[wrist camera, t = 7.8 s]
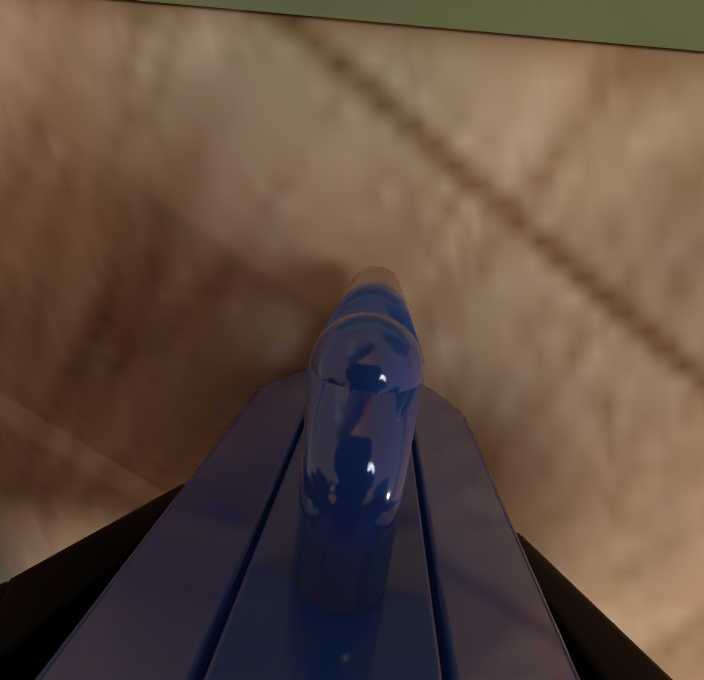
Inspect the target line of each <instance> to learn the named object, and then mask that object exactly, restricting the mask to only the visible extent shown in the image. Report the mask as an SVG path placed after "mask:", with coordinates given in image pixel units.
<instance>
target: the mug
mask: <svg viewBox="0 0 704 680" xmlns="http://www.w3.org/2000/svg"><path fill="white" fill-rule="evenodd" d="M423 376H424V361H423V355H422V352H421V349H420V345H419V342H418V339H417V336H416V333H415V330H414V327H413V323H412V320H411V317H410V314H409V311H408V308H407V305H406V301H405V298H404V295H403V292H402V289H401V286H400V283H399V280H398V278H397V277H396V275H395V274H394V273H393V272H392V271H390V270H389V269H387V268H385V267H382V266H369V267H366V268H364V269H362V270H361V271H359V272H358V273H357V274H356V275H355V276H354V278H353V279H352V281H351V283H350V285H349V286H348V288H347V290H346V291H345V293H344V295H343V296H342V298H341V300H340V301H339V303H338V305H337V306H336V308H335V310H334V311H333V313H332V315H331V316H330V318H329V320H328V322H327V323H326V325H325V327H324V328H323V330H322V332H321V333H320V335H319V337H318V338H317V340H316V342H315V344H314V346H313V349H312V352H311V357H310V362H309V368H307V369H304V370H302V371H299V372H297V373H294V374H292V375H289V376H287V377H284V378H282V379H279V380H277V381H274V382H272V383H269V384H266V385H264V386H263V387H262V389H259V390H258V391H257V392H256V394H255V395H254V396H253V397H252V399H251V400H250V401H249V403H248V404H247V405H246V406H245V408H244V409H243V410H242V412H241V413H240V414H239V416H238V417H237V418H236V419H235V421H234V422H233V423H232V425H231V426H230V427H229V428H228V430H227V431H226V432H225V434H224V435H223V436H222V438H221V439H220V440H219V441H218V443H217V444H216V445H215V447H214V448H213V449H212V450H211V452H210V453H209V454H208V456H207V457H206V458H205V460H204V461H203V462H202V463H201V465H200V466H199V467H198V469H197V470H196V471H195V473H194V474H193V475H192V476H191V478H190V479H189V480H188V482H187V483H186V484H185V485H184V487H183V488H182V489H181V491H180V492H179V493H178V495H177V496H176V497H175V498H174V500H173V501H172V502H171V504H170V505H169V506H168V507H167V509H166V510H165V511H164V513H163V514H162V515H161V517H160V518H159V519H158V520H157V522H156V523H155V524H154V526H153V527H152V528H151V529H150V531H149V532H148V533H147V535H146V536H145V537H144V539H143V540H142V541H141V542H140V544H139V545H138V546H137V548H136V549H135V550H134V551H133V553H132V554H131V555H130V557H129V558H128V559H127V561H126V562H125V563H124V564H123V566H122V567H121V568H120V570H119V571H118V572H117V573H116V575H115V576H114V577H113V579H112V580H111V581H110V583H109V584H108V585H107V586H106V588H105V589H104V590H103V592H102V593H101V594H100V595H99V597H98V598H97V599H96V601H95V602H94V603H93V605H92V606H91V607H90V608H89V610H88V611H87V612H86V614H85V615H84V616H83V618H82V619H81V620H80V621H79V623H78V624H77V625H76V627H75V628H74V629H73V630H72V632H71V633H70V634H69V636H68V637H67V638H66V640H65V641H64V642H63V643H62V645H61V646H60V647H59V649H58V650H57V651H56V652H55V654H54V655H53V656H52V658H51V659H50V660H49V662H48V663H47V664H46V665H45V667H44V668H43V669H42V671H41V672H40V673H39V674H38V676H37V677H36V678H35V680H580V678H579V675H578V673H577V671H576V669H575V666H574V664H573V662H572V660H571V657H570V655H569V653H568V650H567V648H566V646H565V644H564V641H563V639H562V637H561V635H560V632H559V630H558V628H557V625H556V623H555V621H554V619H553V616H552V614H551V612H550V609H549V607H548V605H547V603H546V600H545V598H544V596H543V594H542V591H541V589H540V587H539V584H538V582H537V580H536V578H535V575H534V573H533V571H532V568H531V566H530V564H529V562H528V559H527V557H526V555H525V553H524V550H523V548H522V546H521V543H520V541H519V539H518V537H517V534H516V532H515V530H514V528H513V525H512V523H511V521H510V518H509V516H508V514H507V512H506V509H505V507H504V505H503V502H502V500H501V498H500V496H499V493H498V491H497V489H496V487H495V484H494V482H493V480H492V477H491V475H490V473H489V471H488V468H487V466H486V464H485V461H484V459H483V457H482V455H481V452H480V450H479V448H478V446H477V443H476V441H475V439H474V436H473V434H472V432H471V430H470V427H469V425H468V423H467V420H466V418H465V417H464V416H462V413H461V412H460V411H459V410H458V409H456V408H455V407H453V406H452V405H451V404H449V403H448V402H447V401H445V400H444V399H442V398H441V397H440V396H438V395H437V394H436V393H434V392H433V391H432V390H430V389H429V388H427V387H426V386H425V385H423Z"/></svg>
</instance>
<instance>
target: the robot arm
mask: <svg viewBox="0 0 704 680" xmlns="http://www.w3.org/2000/svg"><path fill="white" fill-rule="evenodd" d="M184 485H185V484H182V485H179V486H177V487H176V488H174V489H172V490H170V491H168V492H167V493H165V494H163V495H161V496H159V497H158V498H156V499H154V500H152V501H150V502H149V503H147V504H145V505H143V506H141V507H140V508H138V509H136V510H134V511H132V512H131V513H129V514H127V515H125V516H123V517H121V518H120V519H118V520H116V521H114V522H112V523H111V524H109V525H107V526H105V527H103V528H102V529H100V530H98V531H96V532H94V533H93V534H91V535H89V536H87V537H85V538H84V539H82V540H80V541H78V542H76V543H75V544H73V545H71V546H69V547H67V548H65V549H64V550H62V551H60V552H58V553H56V554H55V555H53V556H51V557H49V558H47V559H46V560H44V561H42V562H40V563H38V564H37V565H35V566H33V567H31V568H29V569H28V570H26V571H24V572H22V573H20V574H18V575H17V576H15V577H13V578H11V579H10V580H9V582H8V583H7V582H4V583H2V584H0V680H35V678H36V677H37V676H38V674H39V673H40V672H41V671H42V669H43V668H44V667H45V665H46V664H47V663H48V662H49V660H50V659H51V658H52V656H53V655H54V654H55V652H56V651H57V650H58V649H59V647H60V646H61V645H62V643H63V642H64V641H65V640H66V638H67V637H68V636H69V634H70V633H71V632H72V630H73V629H74V628H75V627H76V625H77V624H78V623H79V621H80V620H81V619H82V618H83V616H84V615H85V614H86V612H87V611H88V610H89V608H90V607H91V606H92V605H93V603H94V602H95V601H96V599H97V598H98V597H99V595H100V594H101V593H102V592H103V590H104V589H105V588H106V586H107V585H108V584H109V583H110V581H111V580H112V579H113V577H114V576H115V575H116V573H117V572H118V571H119V570H120V568H121V567H122V566H123V564H124V563H125V562H126V561H127V559H128V558H129V557H130V555H131V554H132V553H133V551H134V550H135V549H136V548H137V546H138V545H139V544H140V542H141V541H142V540H143V539H144V537H145V536H146V535H147V533H148V532H149V531H150V529H151V528H152V527H153V526H154V524H155V523H156V522H157V520H158V519H159V518H160V517H161V515H162V514H163V513H164V511H165V510H166V509H167V507H168V506H169V505H170V504H171V502H172V501H173V500H174V498H175V497H176V496H177V495H178V493H179V492H180V491H181V489H182V488H183V487H184ZM516 534H517V537H518V539H519V541H520V543H521V546H522V548H523V550H524V553H525V555H526V557H527V559H528V562H529V564H530V566H531V568H532V571H533V573H534V575H535V578H536V580H537V582H538V584H539V587H540V589H541V591H542V594H543V596H544V598H545V600H546V603H547V605H548V607H549V609H550V612H551V614H552V616H553V619H554V621H555V623H556V625H557V628H558V630H559V632H560V635H561V637H562V639H563V641H564V644H565V646H566V648H567V650H568V653H569V655H570V657H571V660H572V662H573V664H574V666H575V669H576V671H577V673H578V675H579V678H580V680H672V679H671V678H670V677H669V676H668V675H667V674H666V673H665V672H664V671H663V670H662V669H661V668H660V667H659V666H658V665H657V664H656V663H655V662H653V661H652V660H651V659H650V658H649V657H648V656H647V655H646V654H645V653H644V652H643V651H642V650H641V649H640V648H639V647H638V646H637V645H636V644H635V643H634V642H633V641H632V640H630V639H629V638H628V637H627V636H626V635H625V634H624V633H623V632H622V631H621V630H620V629H619V628H618V627H617V626H616V625H615V624H614V623H613V622H612V621H611V620H610V619H608V618H607V617H606V616H605V615H604V614H603V613H602V612H601V611H600V610H599V609H598V608H597V607H596V606H595V605H594V604H593V603H592V602H591V601H590V600H589V599H588V598H587V597H585V596H584V595H583V594H582V593H581V592H580V591H579V590H578V589H577V588H576V587H575V586H574V585H573V584H572V583H571V582H570V581H569V580H568V579H567V578H566V577H565V576H563V575H562V574H561V573H560V572H559V571H558V570H557V569H556V568H555V567H554V566H553V565H552V564H551V563H550V562H549V561H548V560H547V559H546V558H545V557H544V556H543V555H542V554H540V553H539V552H538V551H537V550H536V549H535V548H534V547H533V546H532V545H531V544H530V543H529V542H528V541H527V540H526V539H525V538H524V537H523V536H522V535H520V534H519V533H517V532H516Z"/></svg>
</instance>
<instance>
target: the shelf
mask: <svg viewBox="0 0 704 680" xmlns="http://www.w3.org/2000/svg"><path fill="white" fill-rule="evenodd" d="M139 1H150V2H161V3H172V4H183V5H194V6H206V7H217V8H228V9H239V10H250V11H261V12H272V13H283V14H295V15H306V16H317V17H328V18H339V19H350V20H361V21H372V22H384V23H395V24H406V25H417V26H428V27H439V28H450V29H461V30H473V31H484V32H495V33H506V34H517V35H528V36H539V37H551V38H562V39H573V40H584V41H595V42H606V43H617V44H628V45H640V46H651V47H662V48H673V49H684V50H695V51H704V0H139Z"/></svg>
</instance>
